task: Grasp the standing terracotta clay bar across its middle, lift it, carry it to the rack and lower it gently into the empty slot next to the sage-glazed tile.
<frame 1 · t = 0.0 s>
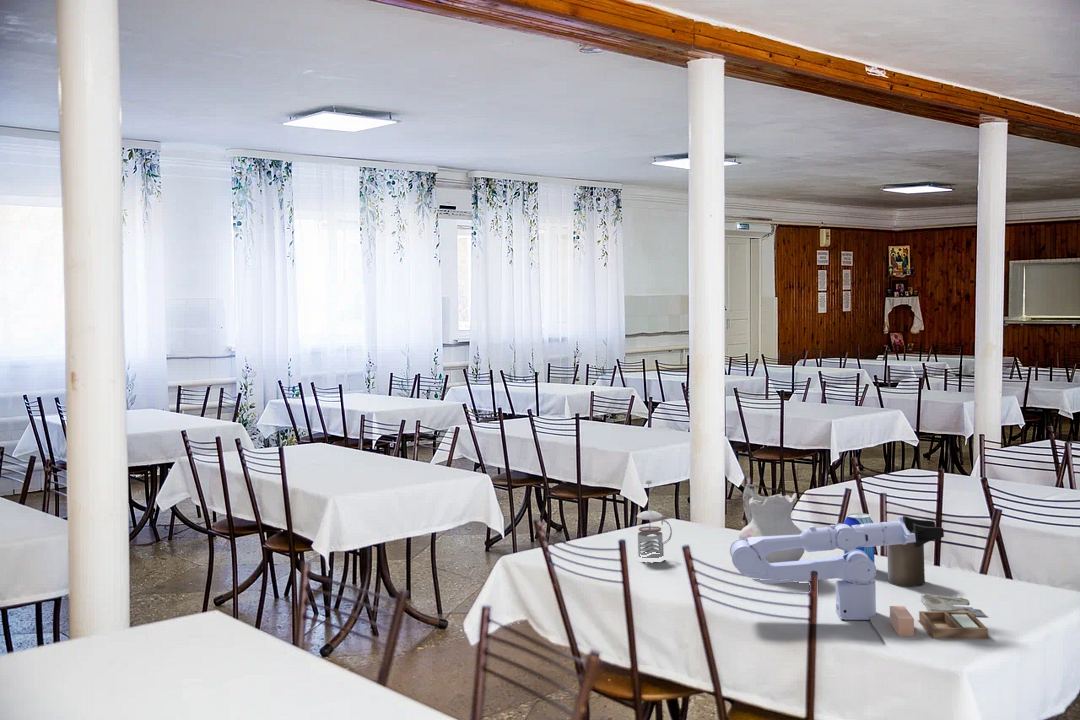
hand: (939, 528, 252), 22 cm above the table, tool horizontal, fingers open, 7 cm apart
pillar candle: (905, 582, 285), on the table
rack: (952, 632, 240), on the table
clay bar: (901, 633, 242), on the table
glazed tile: (964, 629, 240), point 1 cm above the table, touching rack
ceramic pitcher: (769, 571, 302), on the table
french press: (653, 560, 320), on the table
beer can: (859, 570, 300), on the table
fossil rock: (954, 612, 259), on the table
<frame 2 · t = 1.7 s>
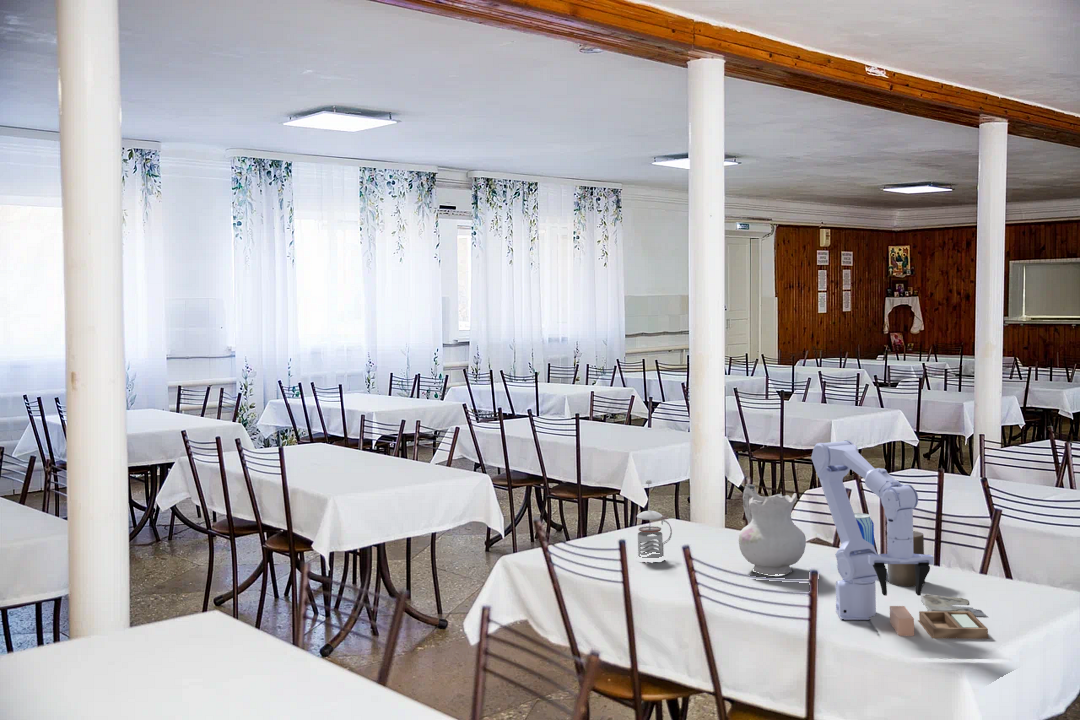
hand: (901, 594, 241), 9 cm above the table, tool pointing down, fingers open, 7 cm apart
nothing on the table moved.
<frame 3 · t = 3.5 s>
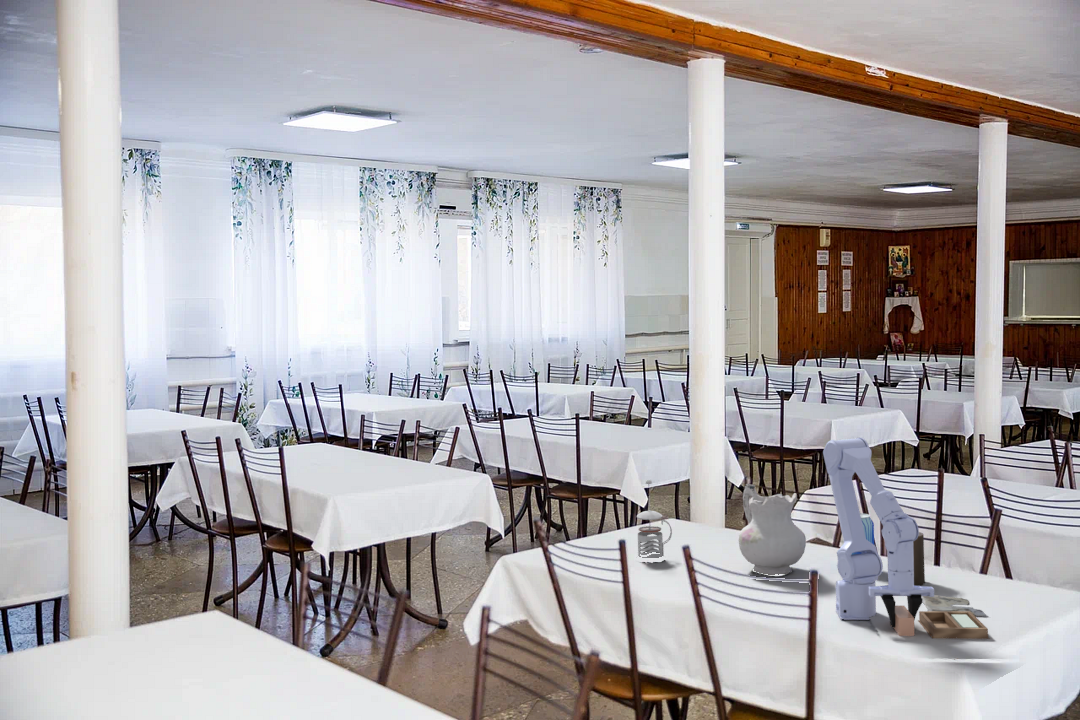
hand: (901, 626, 242), 1 cm above the table, tool pointing down, fingers closed on clay bar, 3 cm apart
clay bar: (901, 632, 242), on the table, touching gripper
everything else where it was.
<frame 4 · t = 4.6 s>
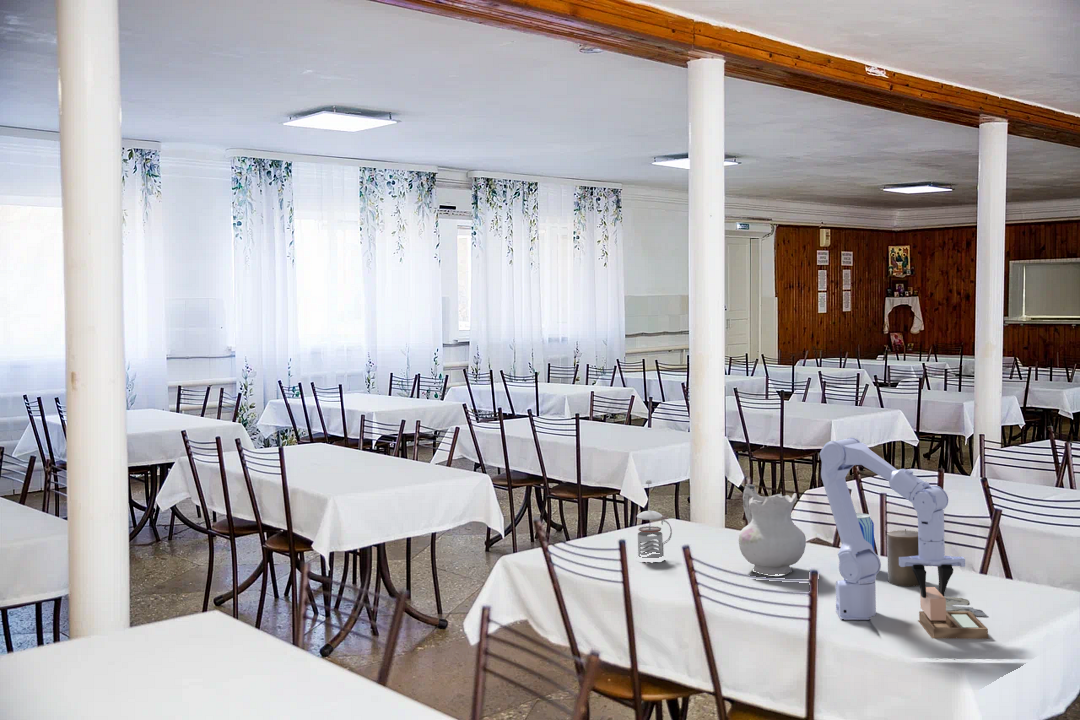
hand: (932, 596, 240), 9 cm above the table, tool pointing down, fingers closed on clay bar, 3 cm apart
clay bar: (933, 613, 240), point 5 cm above the table, touching gripper
everything else where it was.
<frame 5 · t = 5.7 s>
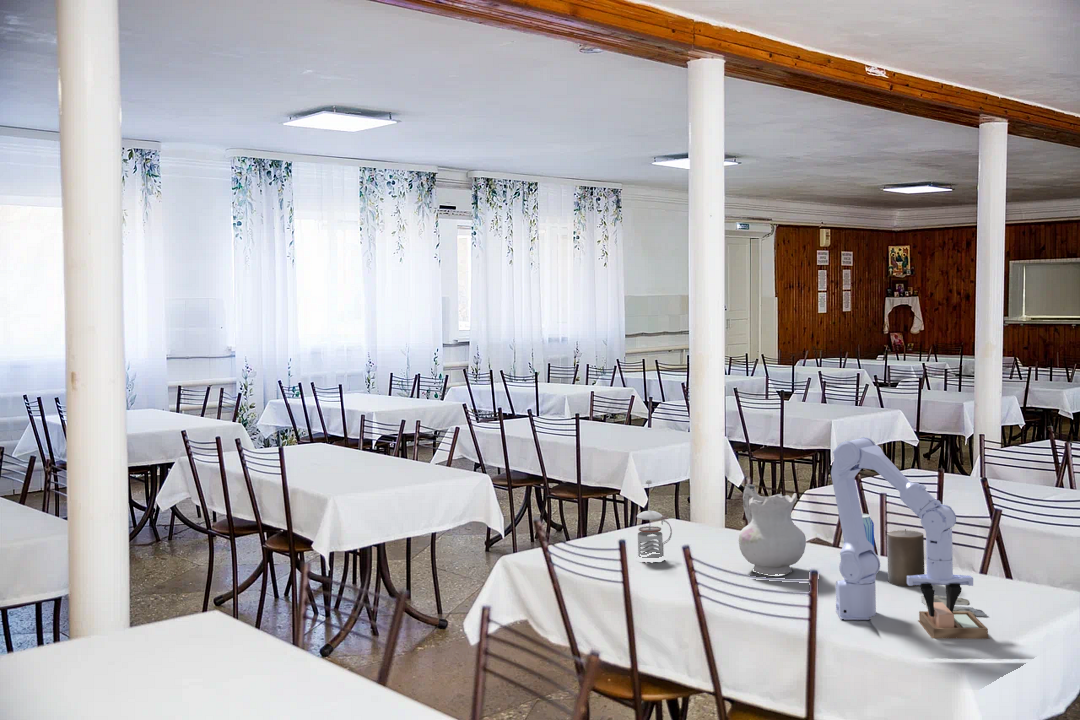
hand: (940, 615, 241), 4 cm above the table, tool pointing down, fingers closed on clay bar, 3 cm apart
clay bar: (940, 629, 240), point 1 cm above the table, touching gripper, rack
everything else where it was.
when the fingers open (4 cm above the table, at t = 6.3 s): clay bar stays where it is, resting on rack.
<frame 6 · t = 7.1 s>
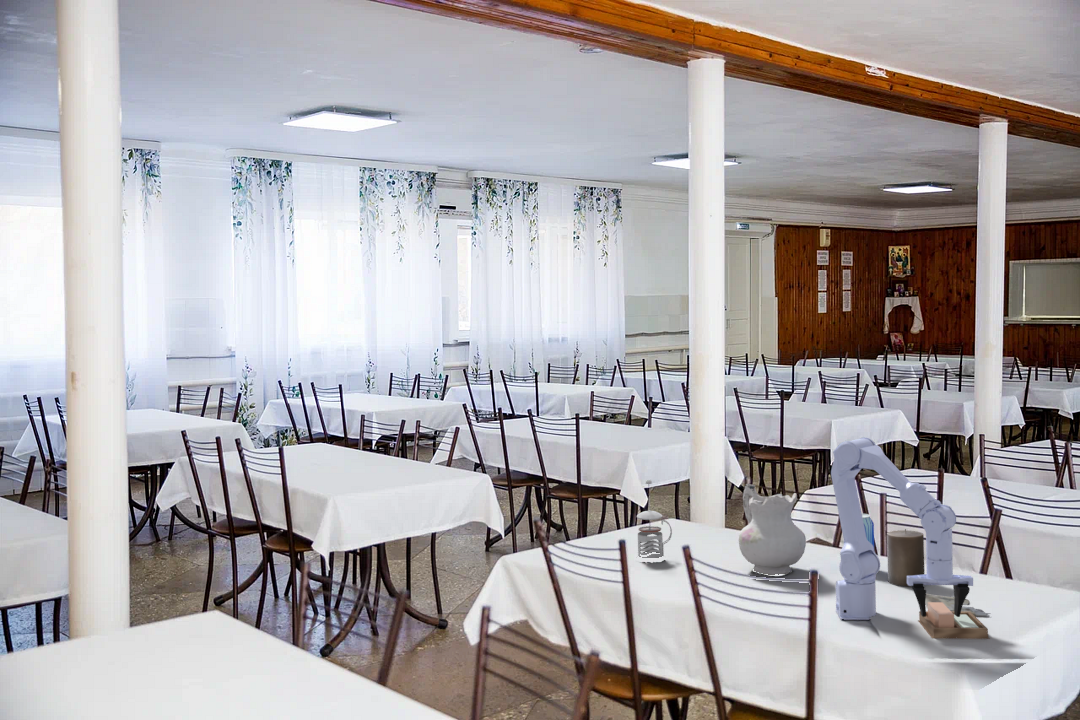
hand: (940, 615, 241), 4 cm above the table, tool pointing down, fingers open, 7 cm apart
clay bar: (940, 629, 240), point 1 cm above the table, touching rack
everything else where it was.
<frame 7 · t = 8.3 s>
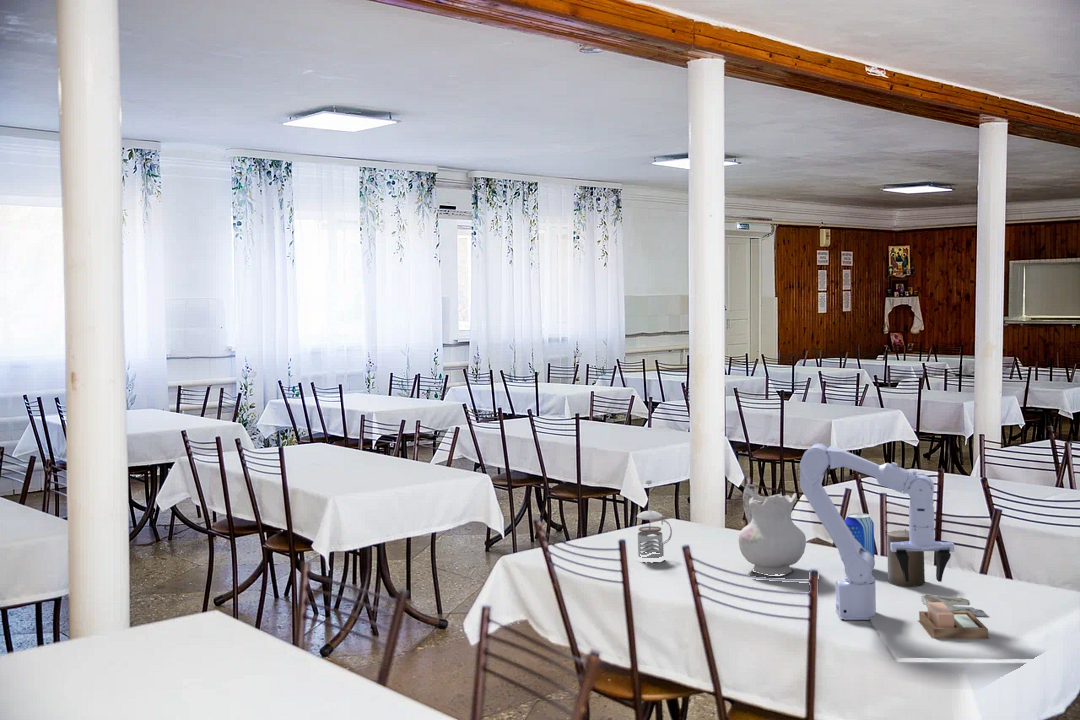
hand: (922, 580, 249), 10 cm above the table, tool pointing down, fingers open, 7 cm apart
nothing on the table moved.
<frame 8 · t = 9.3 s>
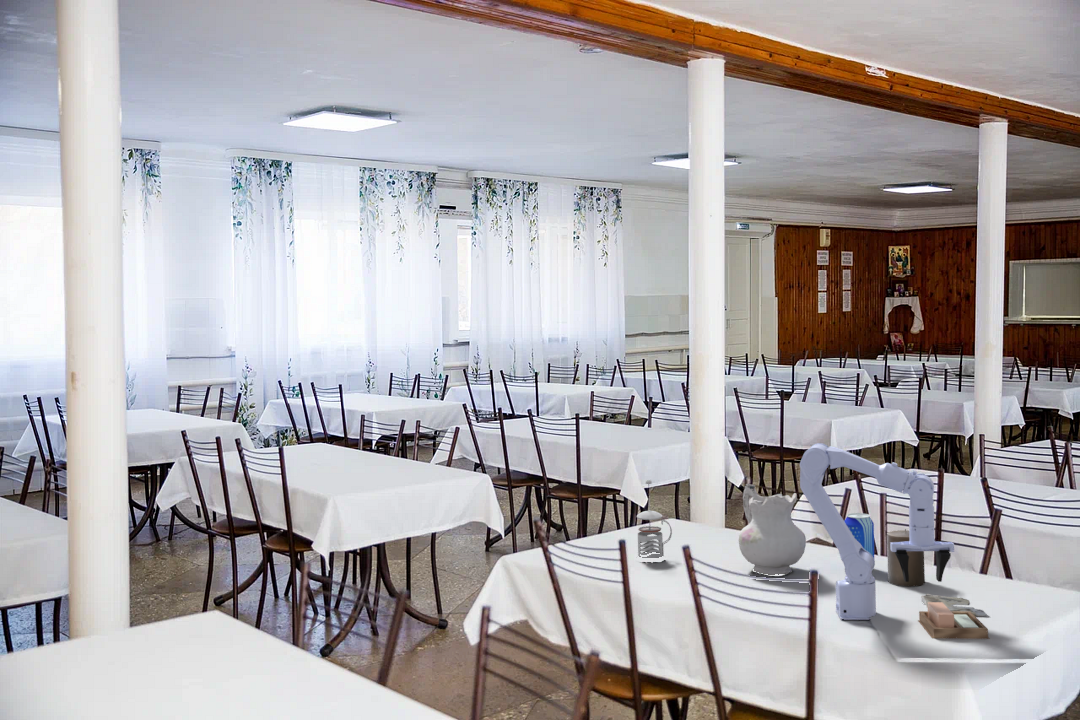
hand: (922, 580, 249), 10 cm above the table, tool pointing down, fingers open, 7 cm apart
nothing on the table moved.
at the end: clay bar 0.3 cm from the target spot on the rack, point 0.8 cm above the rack's base; clay bar tilted 0°; the gripper is holding nothing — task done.
